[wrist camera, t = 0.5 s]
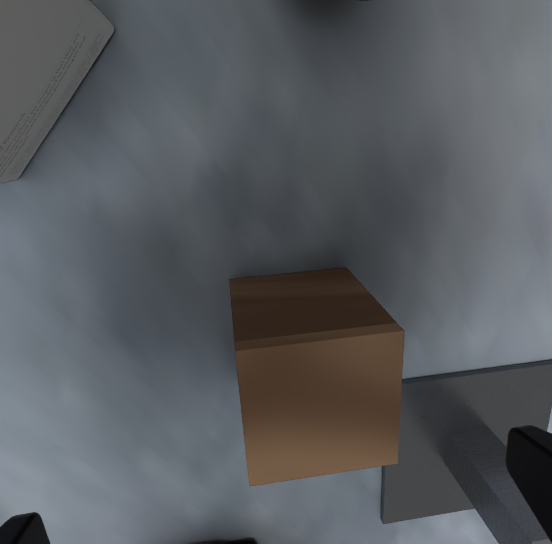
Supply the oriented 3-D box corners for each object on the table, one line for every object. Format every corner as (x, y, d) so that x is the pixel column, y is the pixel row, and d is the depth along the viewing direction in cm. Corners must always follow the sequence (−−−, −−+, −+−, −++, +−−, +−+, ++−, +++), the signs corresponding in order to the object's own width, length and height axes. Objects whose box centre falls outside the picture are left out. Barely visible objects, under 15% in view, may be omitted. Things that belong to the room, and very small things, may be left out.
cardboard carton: (346, 367, 22) (397, 463, 16) (240, 381, 21) (249, 486, 15) (345, 267, 20) (404, 330, 14) (229, 279, 19) (235, 351, 13)
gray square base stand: (529, 493, 27) (629, 611, 20) (380, 518, 26) (436, 652, 19) (555, 359, 23) (686, 449, 17) (385, 382, 22) (455, 487, 16)
